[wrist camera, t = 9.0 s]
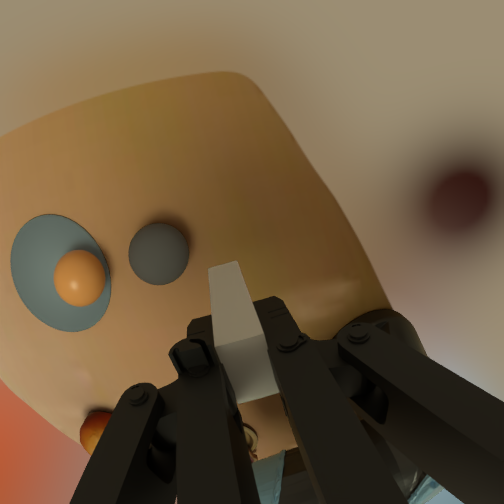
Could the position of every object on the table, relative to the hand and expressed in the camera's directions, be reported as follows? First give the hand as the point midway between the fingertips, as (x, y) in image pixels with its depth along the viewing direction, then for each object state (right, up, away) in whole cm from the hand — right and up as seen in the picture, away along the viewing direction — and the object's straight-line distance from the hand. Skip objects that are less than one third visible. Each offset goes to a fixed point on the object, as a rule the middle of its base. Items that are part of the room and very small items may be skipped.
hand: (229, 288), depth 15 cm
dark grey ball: (-7, +2, +10) cm, 12 cm away
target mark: (-20, -1, +11) cm, 23 cm away
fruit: (-21, -24, +19) cm, 37 cm away
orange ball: (-15, -1, +9) cm, 18 cm away
